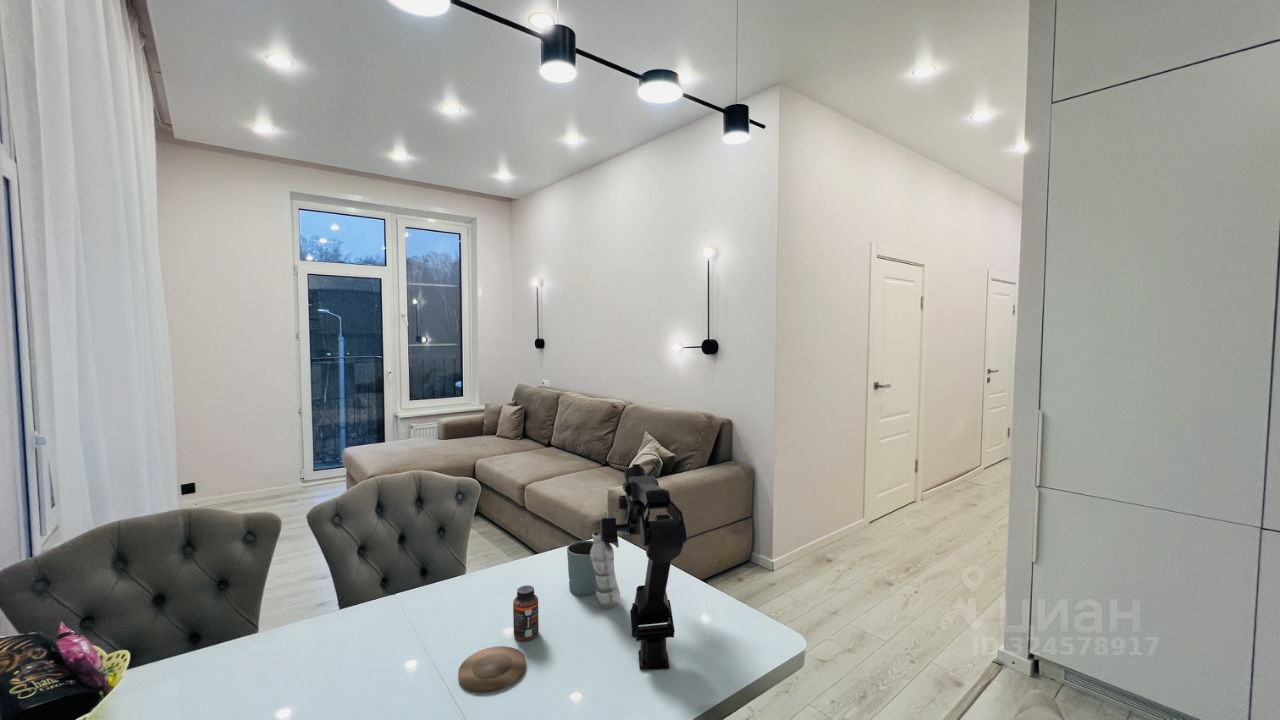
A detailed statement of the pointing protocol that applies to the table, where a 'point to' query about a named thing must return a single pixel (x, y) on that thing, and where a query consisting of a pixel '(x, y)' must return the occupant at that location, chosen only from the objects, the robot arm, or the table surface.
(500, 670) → the disc
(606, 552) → the plastic bottle
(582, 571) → the grey-green cup
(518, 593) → the supplement bottle
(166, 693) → the table surface
